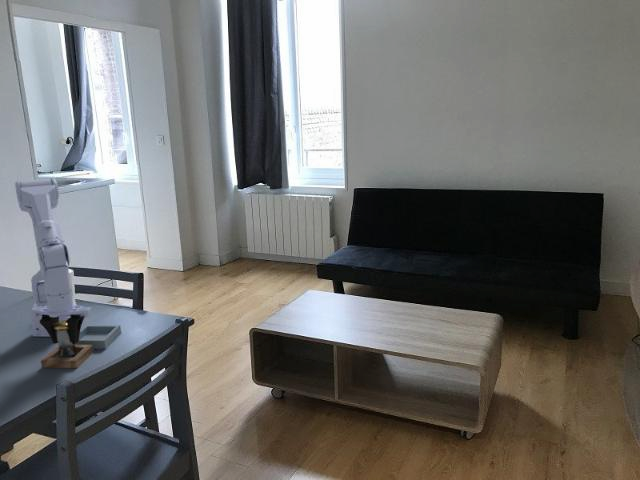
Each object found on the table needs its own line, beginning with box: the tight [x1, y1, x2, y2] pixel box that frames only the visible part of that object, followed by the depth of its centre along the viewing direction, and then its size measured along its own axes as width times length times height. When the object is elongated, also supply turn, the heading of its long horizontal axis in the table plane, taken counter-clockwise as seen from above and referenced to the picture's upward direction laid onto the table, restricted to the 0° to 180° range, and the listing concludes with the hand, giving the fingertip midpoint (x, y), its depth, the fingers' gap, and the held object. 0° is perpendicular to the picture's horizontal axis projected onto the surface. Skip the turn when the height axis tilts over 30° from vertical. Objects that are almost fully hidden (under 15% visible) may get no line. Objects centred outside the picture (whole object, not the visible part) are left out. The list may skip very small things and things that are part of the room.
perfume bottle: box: [66, 262, 77, 305], centre depth 169 cm, size 5×4×15 cm
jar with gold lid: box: [53, 320, 76, 357], centre depth 134 cm, size 5×5×8 cm
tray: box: [75, 324, 122, 350], centre depth 146 cm, size 10×10×2 cm
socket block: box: [40, 345, 95, 369], centre depth 135 cm, size 9×9×2 cm
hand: (66, 342), depth 135 cm, fingers closed on jar with gold lid, 4 cm apart
